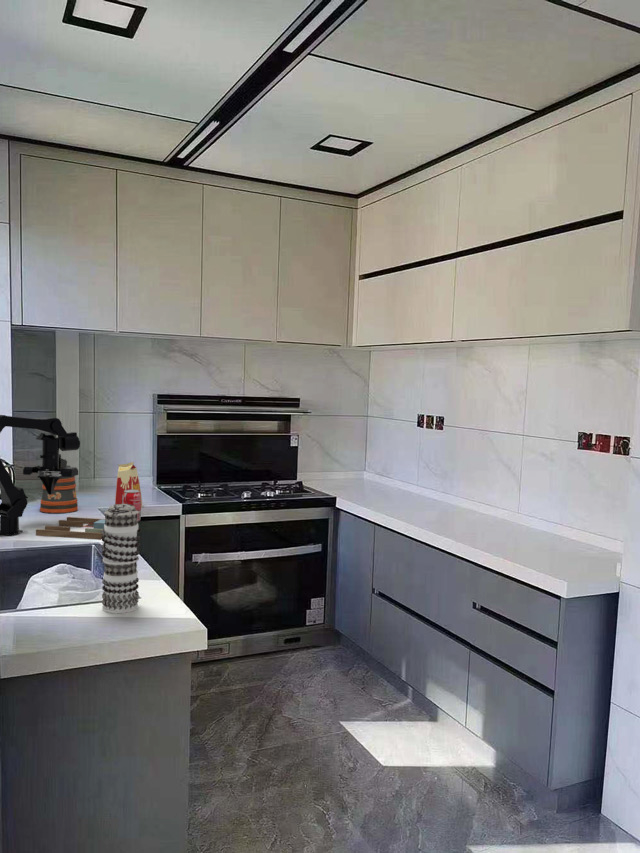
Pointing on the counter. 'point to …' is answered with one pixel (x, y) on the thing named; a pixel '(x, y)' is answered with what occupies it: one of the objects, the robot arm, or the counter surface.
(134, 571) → the decorative candle
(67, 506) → the beer stein
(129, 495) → the soda can
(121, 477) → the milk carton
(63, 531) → the brown bars
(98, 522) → the slate block
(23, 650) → the counter surface
